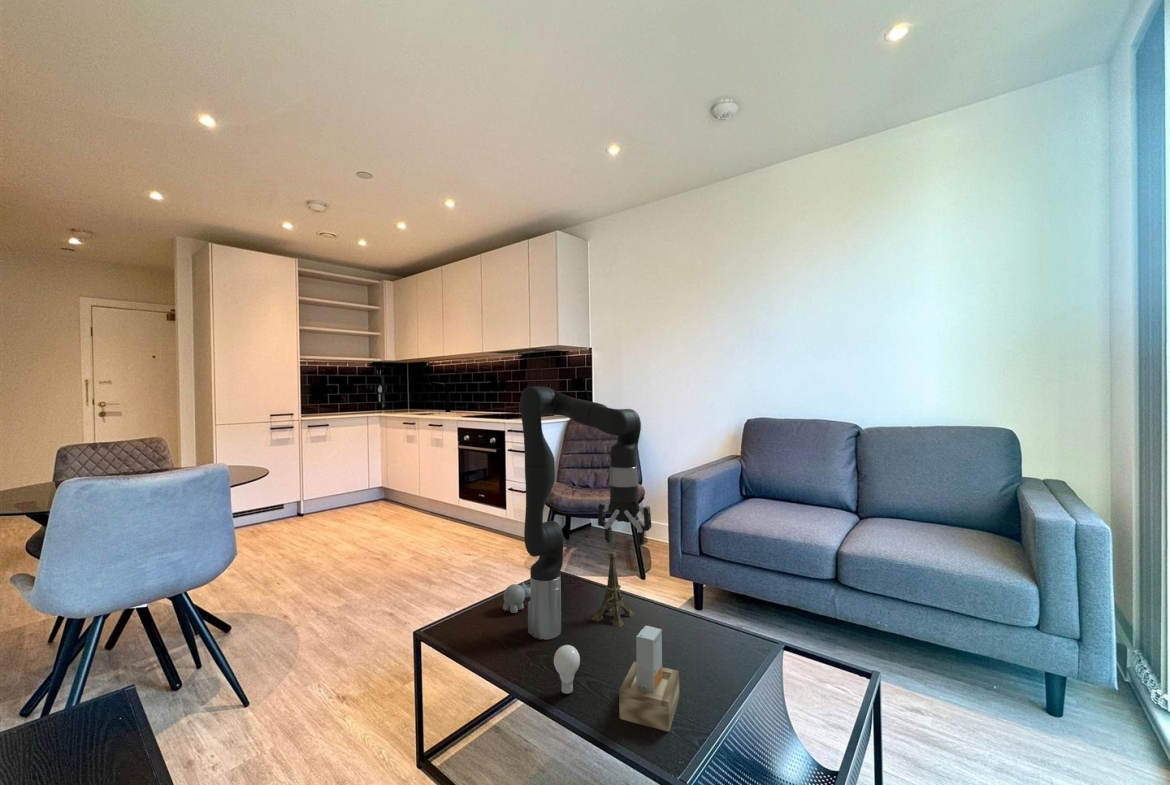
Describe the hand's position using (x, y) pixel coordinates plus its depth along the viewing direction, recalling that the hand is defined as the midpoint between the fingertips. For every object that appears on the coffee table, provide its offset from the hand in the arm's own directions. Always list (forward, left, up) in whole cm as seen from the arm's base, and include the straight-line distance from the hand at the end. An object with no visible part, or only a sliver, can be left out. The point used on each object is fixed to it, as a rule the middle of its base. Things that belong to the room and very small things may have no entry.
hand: (624, 544), depth 121 cm
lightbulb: (-10, -16, -32) cm, 37 cm away
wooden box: (+10, -14, -32) cm, 36 cm away
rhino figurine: (-44, +20, -32) cm, 58 cm away
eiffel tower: (-12, +25, -32) cm, 43 cm away
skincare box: (+10, -14, -27) cm, 32 cm away
